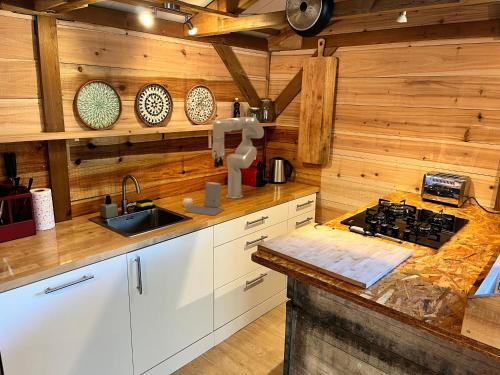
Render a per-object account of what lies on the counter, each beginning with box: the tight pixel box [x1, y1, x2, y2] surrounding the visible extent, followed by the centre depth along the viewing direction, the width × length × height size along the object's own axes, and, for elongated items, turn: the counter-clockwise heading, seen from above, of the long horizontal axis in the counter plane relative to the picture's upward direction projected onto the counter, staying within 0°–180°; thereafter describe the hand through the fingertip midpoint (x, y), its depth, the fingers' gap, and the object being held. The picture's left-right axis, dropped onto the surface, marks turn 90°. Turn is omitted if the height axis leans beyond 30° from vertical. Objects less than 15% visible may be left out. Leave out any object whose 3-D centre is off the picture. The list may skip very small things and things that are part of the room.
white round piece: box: [182, 197, 194, 208], centre depth 255 cm, size 6×6×5 cm
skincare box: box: [203, 181, 222, 208], centre depth 254 cm, size 8×7×16 cm
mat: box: [183, 205, 226, 217], centre depth 245 cm, size 15×22×1 cm
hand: (218, 166), depth 259 cm, fingers open, 5 cm apart
